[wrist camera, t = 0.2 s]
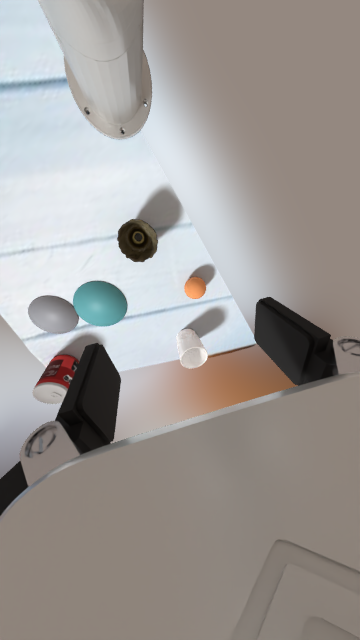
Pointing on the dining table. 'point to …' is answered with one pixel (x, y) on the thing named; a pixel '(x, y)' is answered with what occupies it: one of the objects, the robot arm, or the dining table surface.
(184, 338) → the white cup
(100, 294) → the disc
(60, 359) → the canned food
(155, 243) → the cup
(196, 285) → the ball
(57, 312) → the disc
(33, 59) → the dining table surface
